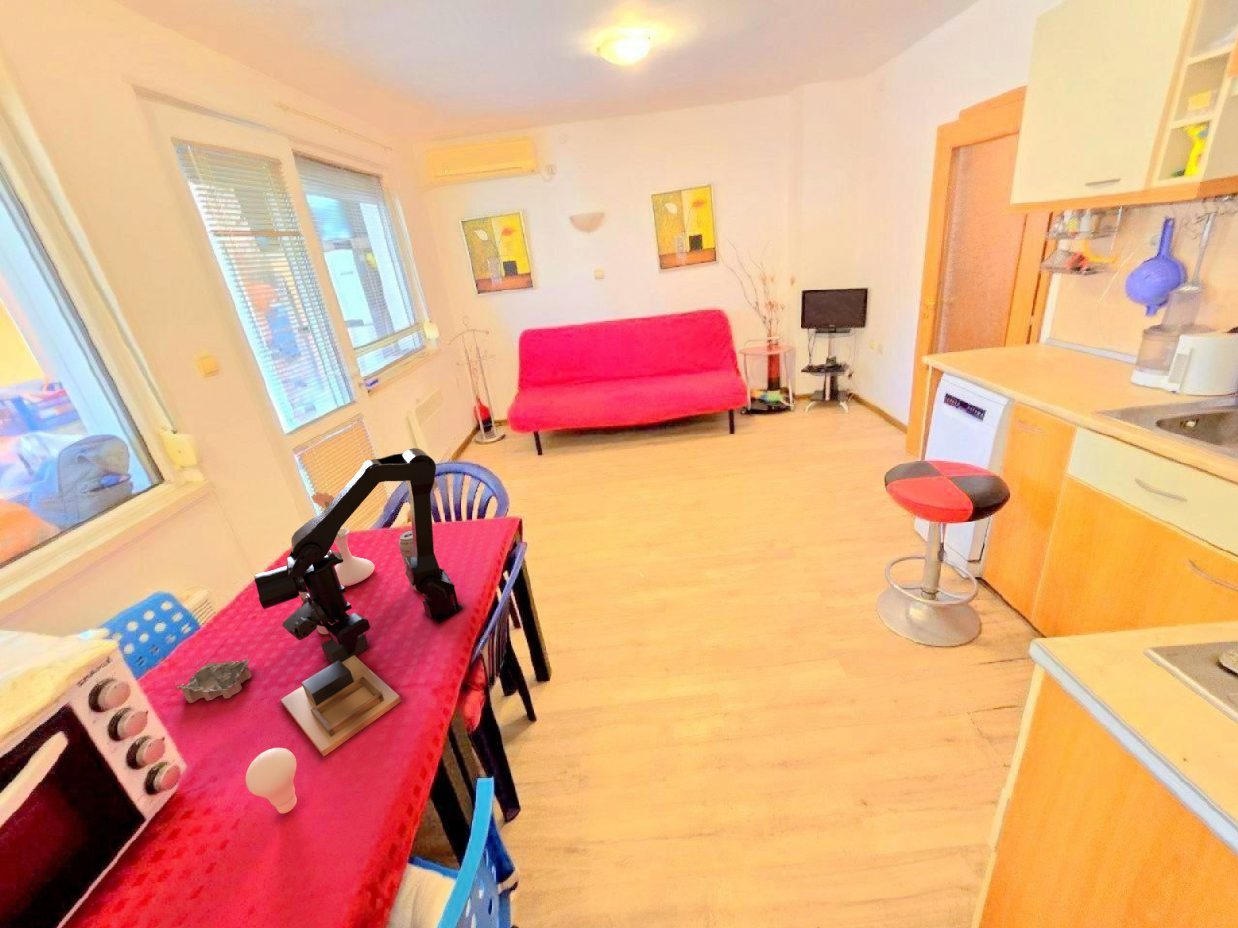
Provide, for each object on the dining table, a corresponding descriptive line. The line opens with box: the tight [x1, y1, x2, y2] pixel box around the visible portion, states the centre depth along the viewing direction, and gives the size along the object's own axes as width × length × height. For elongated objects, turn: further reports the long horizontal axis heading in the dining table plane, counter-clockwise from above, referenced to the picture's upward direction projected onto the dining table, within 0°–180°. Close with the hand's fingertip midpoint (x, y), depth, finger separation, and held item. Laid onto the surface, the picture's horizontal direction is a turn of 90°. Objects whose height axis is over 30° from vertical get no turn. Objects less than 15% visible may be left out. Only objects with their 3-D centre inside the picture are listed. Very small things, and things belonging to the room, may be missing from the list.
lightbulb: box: [245, 747, 298, 814], centre depth 74 cm, size 6×6×11 cm
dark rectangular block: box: [320, 632, 370, 664], centre depth 107 cm, size 7×5×4 cm
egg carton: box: [174, 658, 252, 704], centre depth 101 cm, size 11×8×4 cm
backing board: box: [279, 655, 402, 757], centre depth 94 cm, size 14×19×4 cm
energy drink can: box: [398, 529, 418, 592], centre depth 126 cm, size 6×6×15 cm
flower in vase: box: [310, 491, 376, 588], centre depth 131 cm, size 13×11×25 cm
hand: (346, 648), depth 108 cm, fingers closed on dark rectangular block, 5 cm apart
